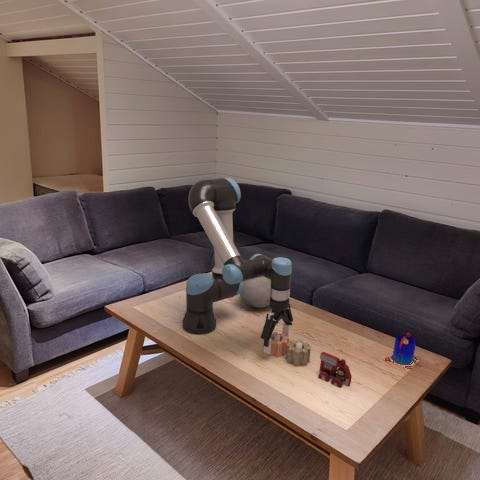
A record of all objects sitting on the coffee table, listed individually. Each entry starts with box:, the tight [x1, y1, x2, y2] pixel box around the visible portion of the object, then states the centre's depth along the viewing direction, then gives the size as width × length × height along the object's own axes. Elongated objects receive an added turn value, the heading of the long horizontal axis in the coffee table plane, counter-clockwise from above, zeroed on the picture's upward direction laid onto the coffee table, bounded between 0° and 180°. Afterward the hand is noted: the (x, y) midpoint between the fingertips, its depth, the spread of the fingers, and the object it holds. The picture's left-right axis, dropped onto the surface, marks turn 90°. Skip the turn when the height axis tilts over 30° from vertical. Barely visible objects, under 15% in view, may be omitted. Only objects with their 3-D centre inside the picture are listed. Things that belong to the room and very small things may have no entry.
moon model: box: [239, 276, 271, 309], centre depth 216 cm, size 20×20×20 cm
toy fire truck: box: [317, 351, 352, 389], centre depth 160 cm, size 7×12×10 cm, turn 51°
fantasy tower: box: [384, 332, 419, 369], centre depth 175 cm, size 12×12×12 cm
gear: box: [285, 339, 312, 367], centre depth 171 cm, size 9×9×6 cm
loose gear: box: [268, 331, 290, 358], centre depth 177 cm, size 9×9×6 cm
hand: (276, 345), depth 177 cm, fingers open, 13 cm apart
